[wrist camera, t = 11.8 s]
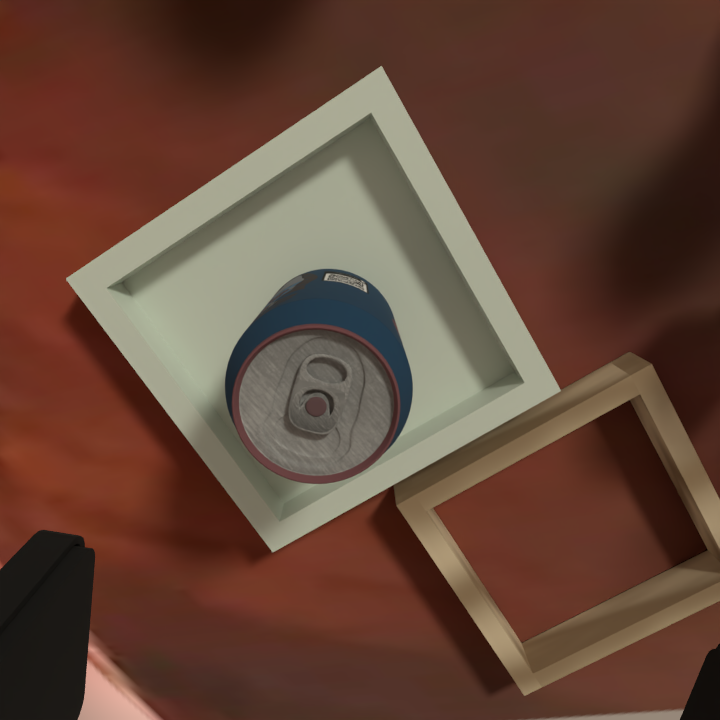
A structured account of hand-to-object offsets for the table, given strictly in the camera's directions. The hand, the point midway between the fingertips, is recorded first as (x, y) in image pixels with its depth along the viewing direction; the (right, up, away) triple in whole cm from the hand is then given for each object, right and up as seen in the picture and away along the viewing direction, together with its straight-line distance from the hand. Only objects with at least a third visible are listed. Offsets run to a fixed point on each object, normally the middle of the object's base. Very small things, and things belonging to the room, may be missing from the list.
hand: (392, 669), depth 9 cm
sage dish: (-2, +7, +23) cm, 24 cm away
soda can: (-2, +6, +23) cm, 24 cm away
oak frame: (+12, -5, +27) cm, 30 cm away
